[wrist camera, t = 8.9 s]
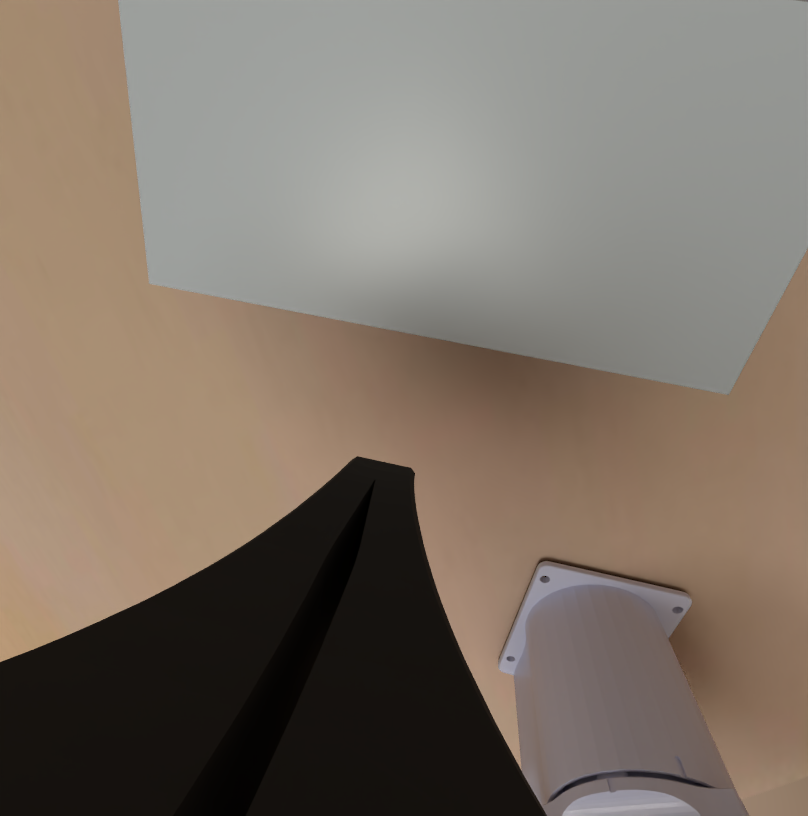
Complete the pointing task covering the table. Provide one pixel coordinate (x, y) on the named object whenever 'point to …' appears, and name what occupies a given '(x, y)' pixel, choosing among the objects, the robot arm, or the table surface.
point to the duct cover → (483, 168)
